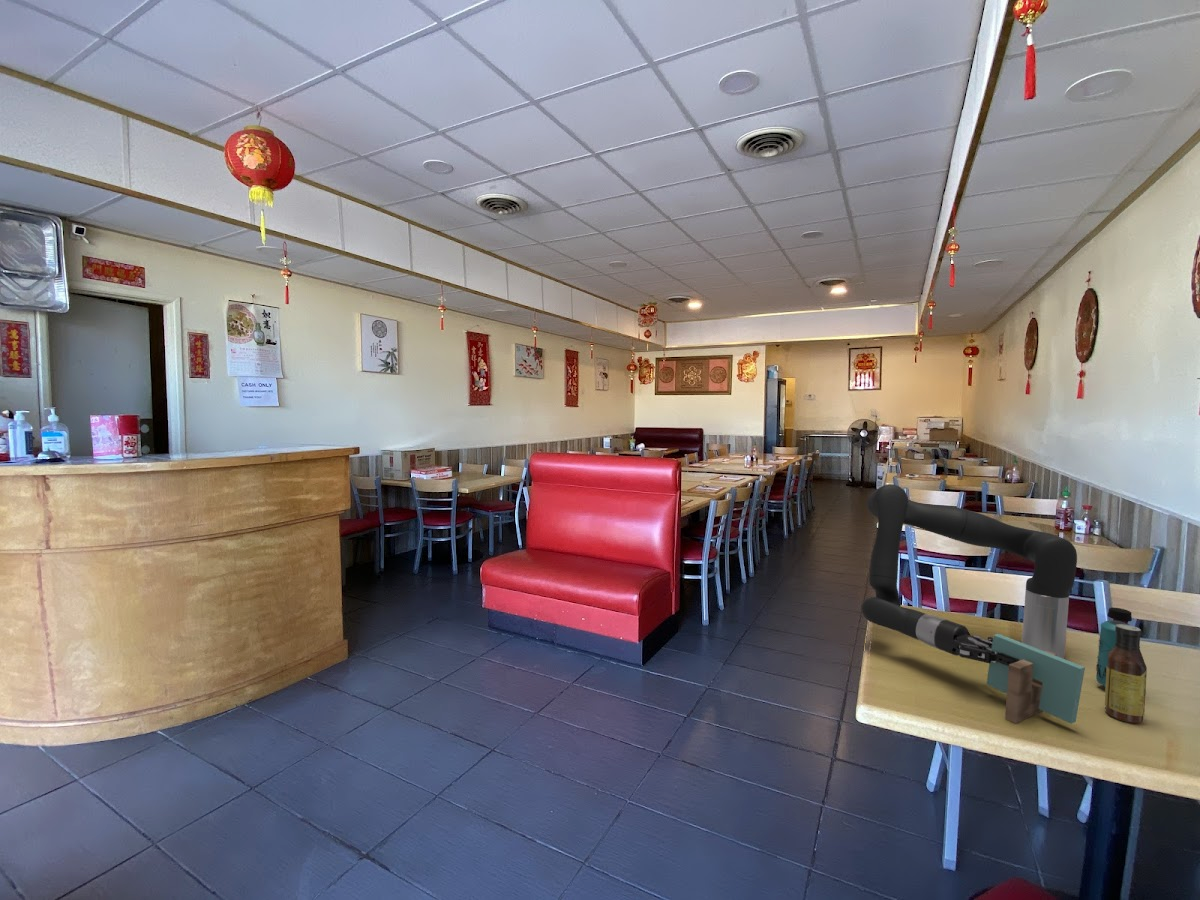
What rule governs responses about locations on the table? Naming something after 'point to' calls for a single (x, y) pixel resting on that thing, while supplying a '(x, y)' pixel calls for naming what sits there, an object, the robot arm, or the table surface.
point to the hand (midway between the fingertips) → (1021, 663)
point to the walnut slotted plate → (1022, 691)
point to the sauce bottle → (1126, 676)
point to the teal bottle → (1109, 640)
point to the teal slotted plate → (1042, 677)
